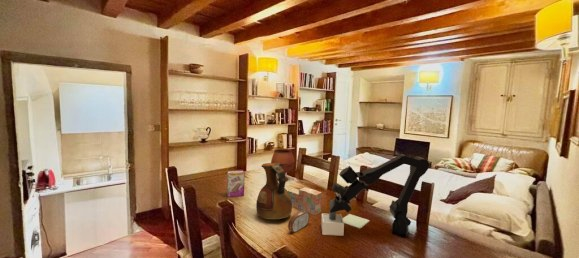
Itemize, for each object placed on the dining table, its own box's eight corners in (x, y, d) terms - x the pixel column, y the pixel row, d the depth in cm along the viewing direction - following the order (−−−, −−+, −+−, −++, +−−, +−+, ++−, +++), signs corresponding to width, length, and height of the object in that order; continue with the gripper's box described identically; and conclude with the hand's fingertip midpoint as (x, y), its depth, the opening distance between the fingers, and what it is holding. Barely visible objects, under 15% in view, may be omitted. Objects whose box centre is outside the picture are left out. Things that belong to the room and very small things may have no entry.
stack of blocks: (286, 205, 159) (287, 185, 158) (293, 202, 164) (294, 183, 163) (314, 215, 145) (315, 194, 144) (321, 212, 150) (322, 191, 148)
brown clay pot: (268, 182, 203) (268, 151, 201) (273, 176, 222) (274, 147, 220) (292, 184, 200) (292, 152, 198) (295, 177, 219) (296, 148, 217)
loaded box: (340, 225, 133) (341, 214, 132) (343, 235, 123) (344, 223, 122) (321, 224, 134) (321, 213, 133) (322, 234, 124) (322, 222, 123)
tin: (305, 222, 136) (305, 207, 135) (310, 224, 134) (310, 209, 133) (287, 233, 124) (287, 216, 123) (292, 235, 122) (292, 218, 121)
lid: (339, 217, 132) (340, 198, 131) (341, 224, 123) (342, 204, 123) (323, 216, 132) (324, 197, 131) (324, 223, 124) (325, 203, 123)
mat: (369, 220, 140) (369, 220, 140) (360, 228, 130) (360, 228, 130) (349, 214, 147) (349, 213, 147) (339, 221, 138) (339, 220, 138)
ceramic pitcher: (275, 206, 156) (276, 158, 154) (299, 217, 142) (301, 164, 139) (248, 215, 143) (249, 162, 140) (272, 228, 128) (273, 169, 126)
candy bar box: (227, 197, 169) (227, 173, 167) (226, 195, 174) (226, 171, 172) (244, 196, 172) (244, 172, 171) (243, 193, 177) (243, 170, 176)
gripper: (339, 173, 135) (317, 192, 137) (345, 183, 116) (319, 206, 118) (354, 188, 135) (332, 207, 137) (361, 201, 116) (336, 223, 118)
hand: (329, 210), depth 127 cm, fingers closed on lid, 3 cm apart
